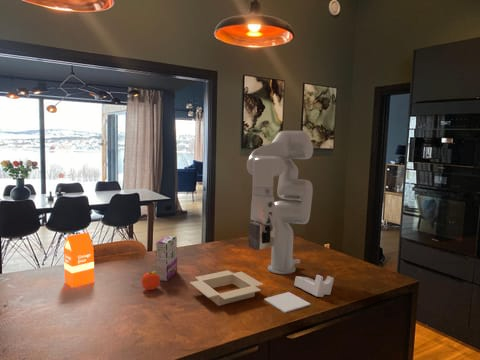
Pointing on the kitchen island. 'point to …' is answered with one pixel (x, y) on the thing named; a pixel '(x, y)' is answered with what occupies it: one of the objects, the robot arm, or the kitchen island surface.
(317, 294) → the bracket
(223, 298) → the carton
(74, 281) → the orange juice
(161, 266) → the candy bar box
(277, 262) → the robot arm
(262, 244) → the birch box
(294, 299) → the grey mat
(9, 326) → the kitchen island surface
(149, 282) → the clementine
